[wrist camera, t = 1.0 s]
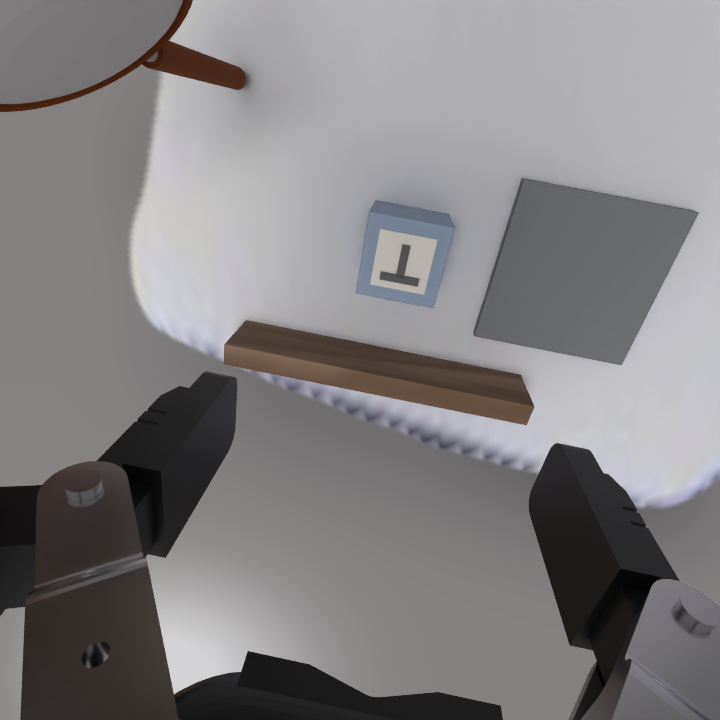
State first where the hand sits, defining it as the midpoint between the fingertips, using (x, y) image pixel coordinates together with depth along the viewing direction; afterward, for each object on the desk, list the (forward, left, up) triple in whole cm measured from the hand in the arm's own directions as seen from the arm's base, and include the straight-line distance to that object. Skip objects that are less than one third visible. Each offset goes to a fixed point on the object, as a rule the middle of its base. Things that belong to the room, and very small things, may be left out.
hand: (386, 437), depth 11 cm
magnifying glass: (-8, -12, -23) cm, 27 cm away
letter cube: (0, 0, -23) cm, 23 cm away
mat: (0, +12, -22) cm, 25 cm away
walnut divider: (+9, 0, -22) cm, 24 cm away
